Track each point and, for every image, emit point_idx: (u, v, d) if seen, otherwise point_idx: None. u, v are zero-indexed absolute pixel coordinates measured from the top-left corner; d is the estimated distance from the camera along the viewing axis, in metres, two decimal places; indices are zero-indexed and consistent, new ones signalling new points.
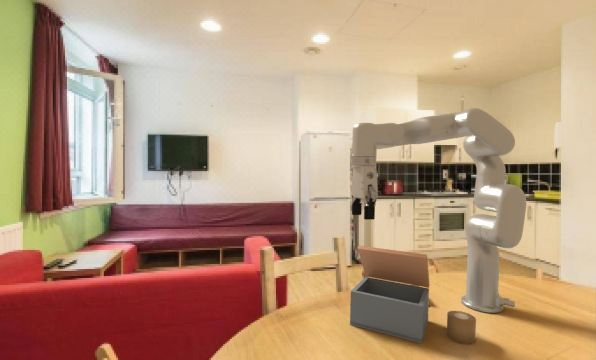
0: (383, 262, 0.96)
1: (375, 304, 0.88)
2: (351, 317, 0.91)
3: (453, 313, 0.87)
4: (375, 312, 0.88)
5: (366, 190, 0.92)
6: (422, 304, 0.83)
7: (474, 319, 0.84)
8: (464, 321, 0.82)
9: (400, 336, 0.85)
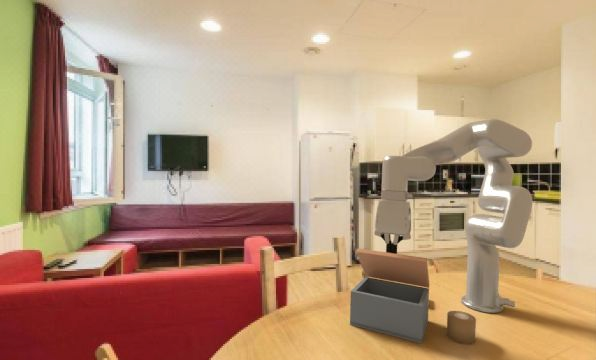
0: (382, 264, 0.95)
1: (375, 304, 0.88)
2: (351, 317, 0.91)
3: (453, 313, 0.87)
4: (375, 312, 0.88)
5: (409, 226, 0.91)
6: (422, 304, 0.83)
7: (474, 319, 0.84)
8: (464, 321, 0.82)
9: (400, 336, 0.85)
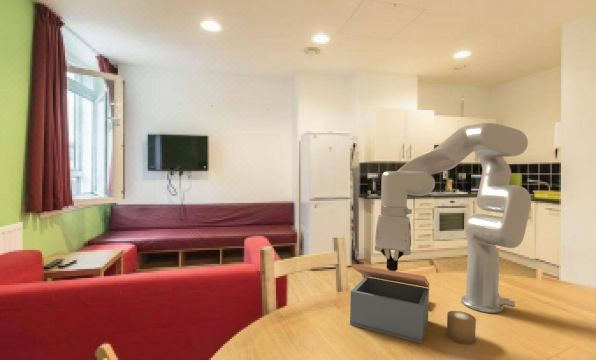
0: (380, 275, 0.94)
1: (375, 304, 0.88)
2: (351, 317, 0.91)
3: (453, 313, 0.87)
4: (375, 312, 0.88)
5: (409, 242, 0.90)
6: (422, 304, 0.83)
7: (474, 319, 0.84)
8: (464, 321, 0.82)
9: (400, 336, 0.85)
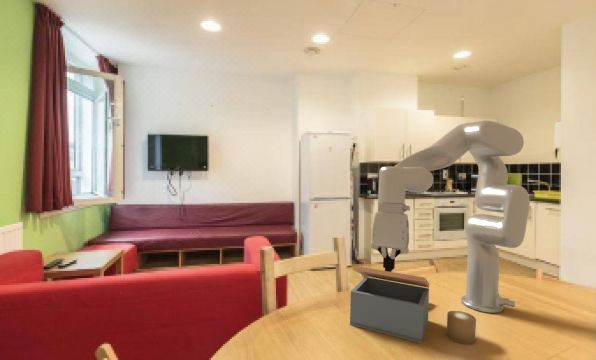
0: (380, 276, 0.94)
1: (375, 304, 0.88)
2: (351, 317, 0.91)
3: (453, 313, 0.87)
4: (375, 312, 0.88)
5: (407, 240, 0.87)
6: (422, 304, 0.83)
7: (474, 319, 0.84)
8: (464, 321, 0.82)
9: (400, 336, 0.85)
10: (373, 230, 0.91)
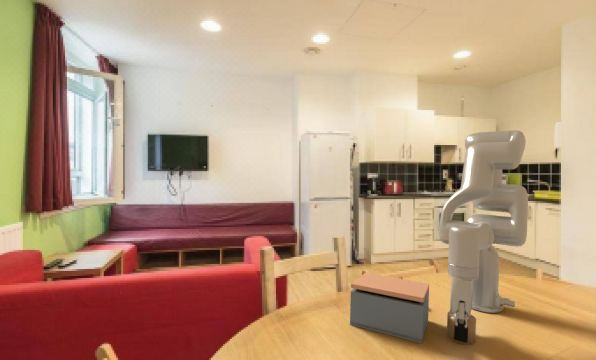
0: None
1: (375, 304, 0.88)
2: (351, 317, 0.91)
3: None
4: (375, 312, 0.88)
5: None
6: (422, 304, 0.83)
7: (474, 319, 0.84)
8: None
9: (400, 336, 0.85)
10: (470, 301, 0.81)
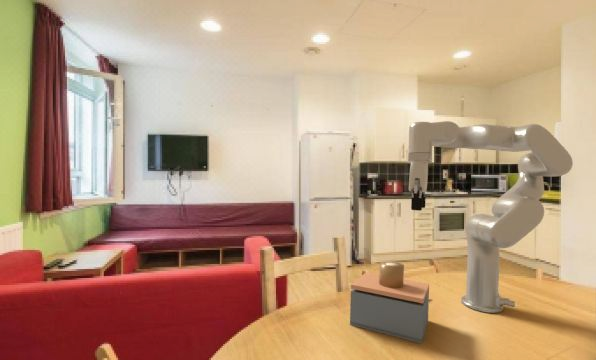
0: None
1: (375, 304, 0.88)
2: (351, 317, 0.91)
3: (385, 262, 0.95)
4: (375, 312, 0.88)
5: None
6: (422, 304, 0.83)
7: (402, 266, 0.92)
8: (391, 267, 0.90)
9: (400, 336, 0.85)
10: (424, 178, 1.01)
